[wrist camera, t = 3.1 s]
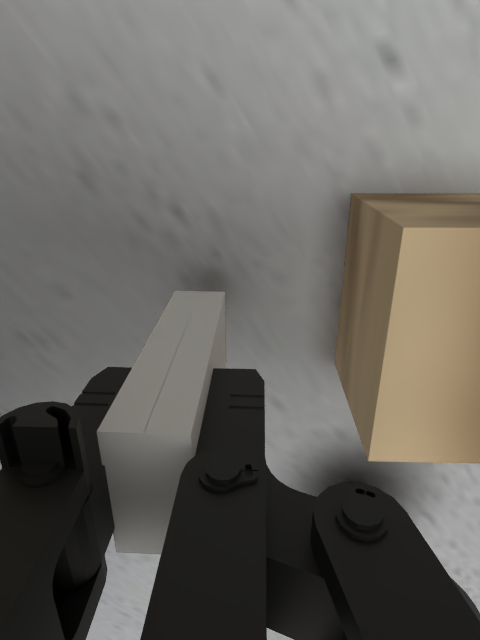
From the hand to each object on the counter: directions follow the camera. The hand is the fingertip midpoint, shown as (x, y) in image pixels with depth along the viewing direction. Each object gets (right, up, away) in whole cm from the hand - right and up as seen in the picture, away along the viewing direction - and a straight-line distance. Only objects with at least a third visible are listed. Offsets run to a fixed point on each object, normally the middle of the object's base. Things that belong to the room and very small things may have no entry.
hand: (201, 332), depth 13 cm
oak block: (+9, +2, +4) cm, 10 cm away
